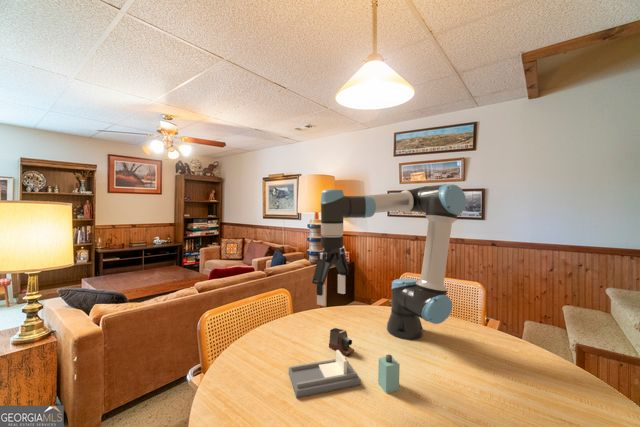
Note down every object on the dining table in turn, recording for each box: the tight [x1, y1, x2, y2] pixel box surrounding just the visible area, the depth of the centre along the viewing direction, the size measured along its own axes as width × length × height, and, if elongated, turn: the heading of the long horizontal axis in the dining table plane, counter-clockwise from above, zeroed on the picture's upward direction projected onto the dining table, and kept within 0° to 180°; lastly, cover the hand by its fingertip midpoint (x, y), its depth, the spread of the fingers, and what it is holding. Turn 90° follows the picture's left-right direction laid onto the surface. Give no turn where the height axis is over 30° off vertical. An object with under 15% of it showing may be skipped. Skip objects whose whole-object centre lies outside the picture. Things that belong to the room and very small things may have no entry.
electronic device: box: [328, 327, 355, 357], centre depth 104 cm, size 4×10×8 cm, turn 44°
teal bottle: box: [377, 354, 401, 394], centre depth 83 cm, size 4×4×10 cm
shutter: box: [319, 350, 348, 378], centre depth 87 cm, size 7×7×5 cm
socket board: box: [288, 356, 361, 399], centre depth 86 cm, size 20×12×3 cm, turn 107°
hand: (331, 298), depth 91 cm, fingers open, 13 cm apart
